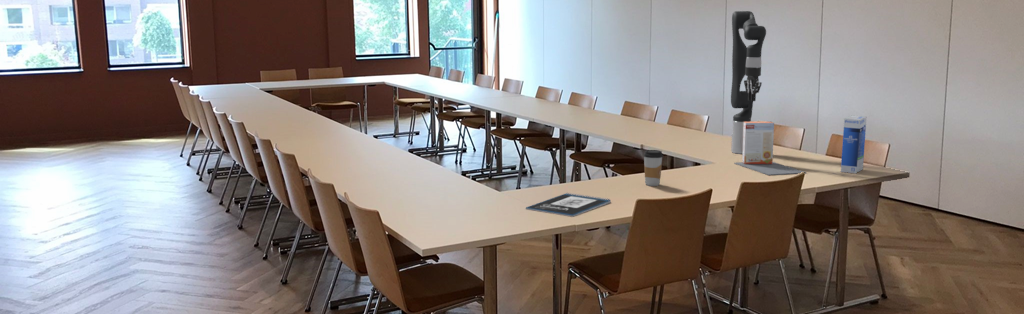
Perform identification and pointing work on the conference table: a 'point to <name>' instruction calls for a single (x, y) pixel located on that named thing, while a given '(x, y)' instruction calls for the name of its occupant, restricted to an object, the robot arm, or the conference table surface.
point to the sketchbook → (569, 204)
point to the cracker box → (758, 142)
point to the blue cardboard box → (853, 144)
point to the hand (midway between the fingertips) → (751, 100)
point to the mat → (771, 168)
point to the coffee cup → (652, 167)
